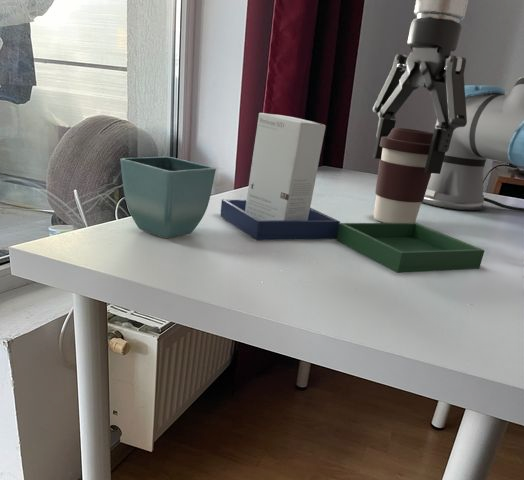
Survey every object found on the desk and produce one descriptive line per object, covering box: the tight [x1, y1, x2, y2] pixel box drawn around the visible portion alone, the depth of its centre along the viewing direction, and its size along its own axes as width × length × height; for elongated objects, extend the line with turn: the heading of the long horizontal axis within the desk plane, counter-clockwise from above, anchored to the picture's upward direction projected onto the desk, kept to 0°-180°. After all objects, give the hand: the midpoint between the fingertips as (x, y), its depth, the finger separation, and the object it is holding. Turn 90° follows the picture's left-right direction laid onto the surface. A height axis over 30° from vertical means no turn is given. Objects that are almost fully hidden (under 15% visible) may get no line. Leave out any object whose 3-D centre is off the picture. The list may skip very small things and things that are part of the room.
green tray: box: [335, 222, 485, 274], centre depth 77 cm, size 14×14×3 cm
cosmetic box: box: [245, 112, 327, 221], centre depth 80 cm, size 8×6×15 cm
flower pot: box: [119, 156, 217, 239], centre depth 72 cm, size 9×9×9 cm
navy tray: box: [220, 198, 341, 241], centre depth 83 cm, size 13×13×3 cm
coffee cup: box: [373, 127, 433, 223], centre depth 94 cm, size 10×10×15 cm
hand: (404, 165), depth 93 cm, fingers open, 13 cm apart
